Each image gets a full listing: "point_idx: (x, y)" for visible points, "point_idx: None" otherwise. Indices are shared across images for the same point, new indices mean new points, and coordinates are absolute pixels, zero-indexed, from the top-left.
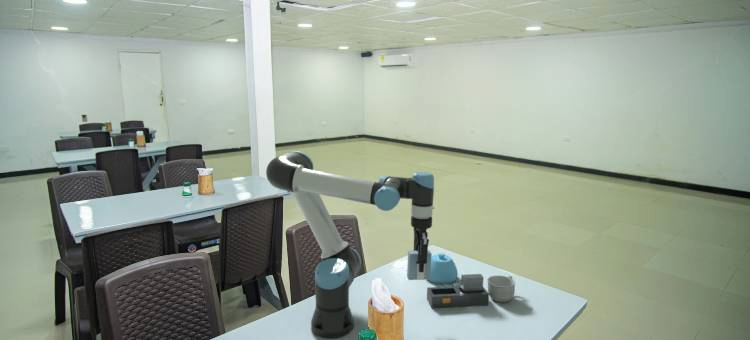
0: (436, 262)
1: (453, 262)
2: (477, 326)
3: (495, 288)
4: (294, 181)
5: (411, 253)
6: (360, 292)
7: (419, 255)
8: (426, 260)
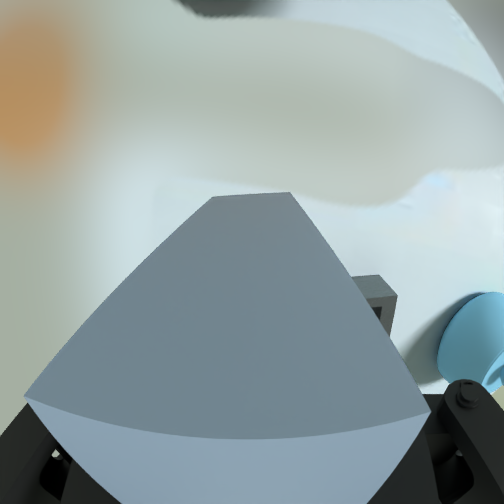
0: (495, 353)
1: None
2: None
3: None
4: None
5: (104, 459)
6: (432, 47)
7: (69, 495)
8: (58, 472)
